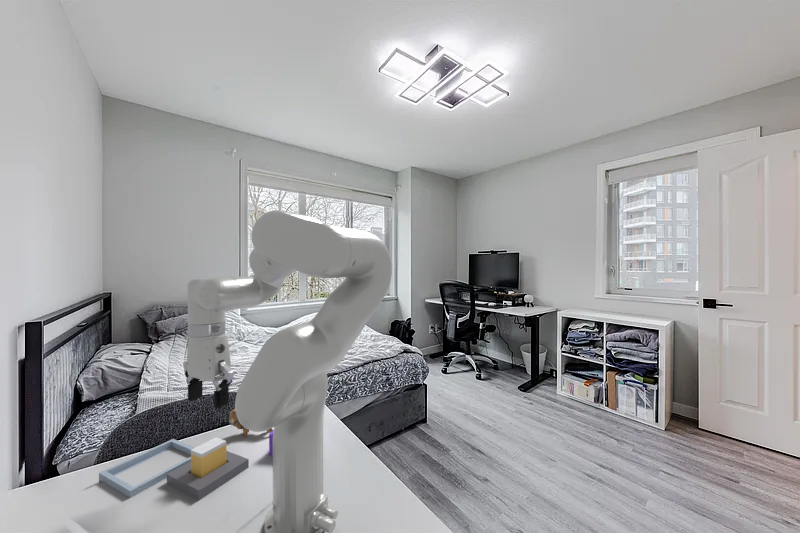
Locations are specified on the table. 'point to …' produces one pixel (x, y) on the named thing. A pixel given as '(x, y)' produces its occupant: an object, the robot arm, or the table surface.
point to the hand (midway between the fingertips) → (208, 402)
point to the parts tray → (126, 488)
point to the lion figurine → (236, 423)
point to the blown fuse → (208, 457)
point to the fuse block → (207, 476)
